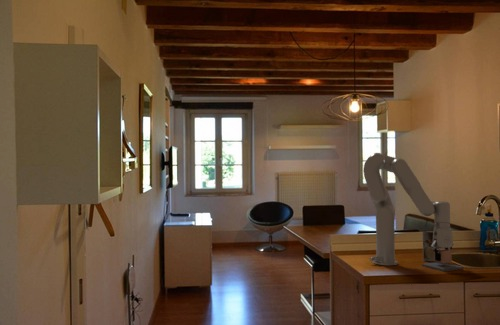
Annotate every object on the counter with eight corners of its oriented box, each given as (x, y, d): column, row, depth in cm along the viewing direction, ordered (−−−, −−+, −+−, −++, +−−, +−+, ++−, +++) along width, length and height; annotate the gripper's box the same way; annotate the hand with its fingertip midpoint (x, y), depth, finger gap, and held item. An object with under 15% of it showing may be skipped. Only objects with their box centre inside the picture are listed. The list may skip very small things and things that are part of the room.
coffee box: (440, 260, 246) (440, 231, 246) (440, 262, 240) (440, 232, 240) (422, 258, 249) (422, 230, 249) (422, 261, 243) (422, 232, 243)
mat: (444, 271, 217) (444, 269, 217) (422, 265, 230) (422, 264, 230) (463, 268, 224) (463, 266, 224) (440, 263, 236) (440, 261, 236)
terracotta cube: (443, 263, 223) (443, 251, 223) (433, 260, 228) (433, 249, 228) (451, 262, 225) (451, 250, 226) (441, 259, 231) (441, 248, 231)
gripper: (436, 227, 220) (436, 263, 220) (459, 225, 228) (460, 260, 227) (424, 225, 227) (424, 260, 227) (447, 223, 234) (448, 257, 234)
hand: (442, 259), depth 227 cm, fingers closed on terracotta cube, 6 cm apart
